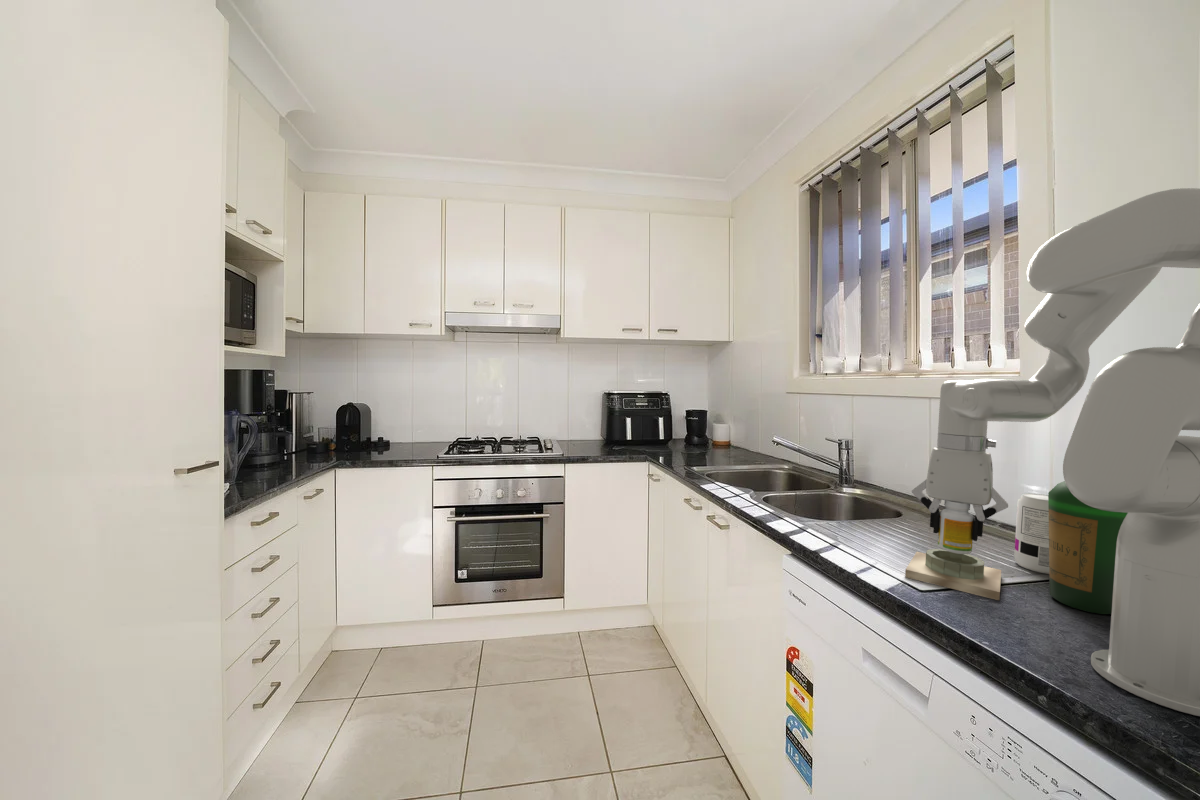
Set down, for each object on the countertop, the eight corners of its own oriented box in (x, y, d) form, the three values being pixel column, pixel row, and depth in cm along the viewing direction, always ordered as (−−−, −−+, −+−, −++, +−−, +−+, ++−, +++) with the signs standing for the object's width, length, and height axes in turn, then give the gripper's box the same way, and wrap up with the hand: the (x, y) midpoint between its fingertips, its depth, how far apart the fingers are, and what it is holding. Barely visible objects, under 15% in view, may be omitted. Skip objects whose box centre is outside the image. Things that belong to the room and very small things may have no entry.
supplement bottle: (979, 555, 89) (982, 505, 89) (950, 554, 89) (953, 504, 89) (958, 545, 95) (961, 497, 94) (931, 544, 95) (934, 496, 94)
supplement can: (1004, 559, 103) (1008, 491, 103) (1046, 562, 102) (1050, 493, 101) (1032, 574, 95) (1037, 500, 94) (1078, 577, 94) (1083, 503, 93)
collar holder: (1000, 577, 93) (1002, 557, 93) (999, 600, 82) (1000, 578, 82) (916, 558, 102) (917, 540, 102) (905, 577, 91) (906, 556, 91)
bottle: (1036, 585, 89) (1045, 439, 88) (1117, 602, 83) (1128, 444, 82) (1047, 606, 80) (1058, 444, 79) (1139, 626, 74) (1152, 451, 73)
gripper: (1020, 447, 88) (1013, 542, 89) (911, 437, 100) (906, 521, 100) (1020, 451, 83) (1013, 552, 83) (905, 440, 94) (900, 529, 95)
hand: (955, 534), depth 92 cm, fingers closed on supplement bottle, 5 cm apart
